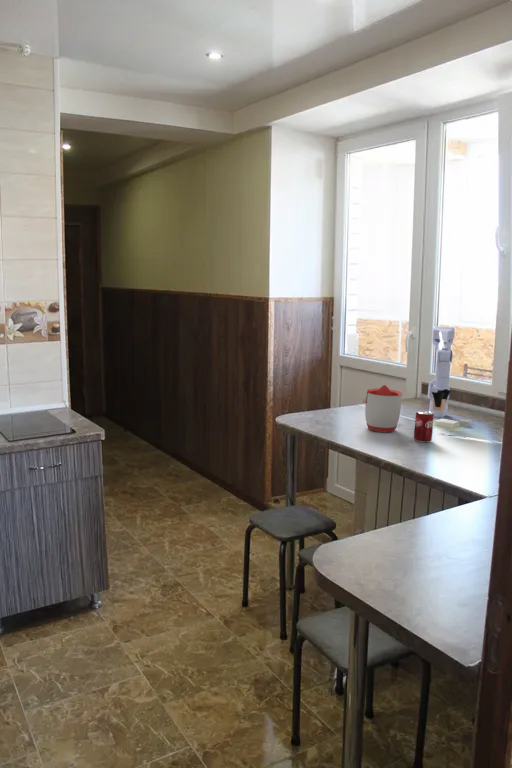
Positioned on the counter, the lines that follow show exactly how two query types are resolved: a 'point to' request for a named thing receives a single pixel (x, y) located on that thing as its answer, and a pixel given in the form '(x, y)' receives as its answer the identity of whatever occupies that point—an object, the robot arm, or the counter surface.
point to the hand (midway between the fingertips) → (439, 406)
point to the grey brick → (464, 423)
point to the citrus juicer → (382, 409)
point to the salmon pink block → (440, 406)
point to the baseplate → (450, 428)
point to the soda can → (423, 426)
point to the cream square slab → (446, 423)
